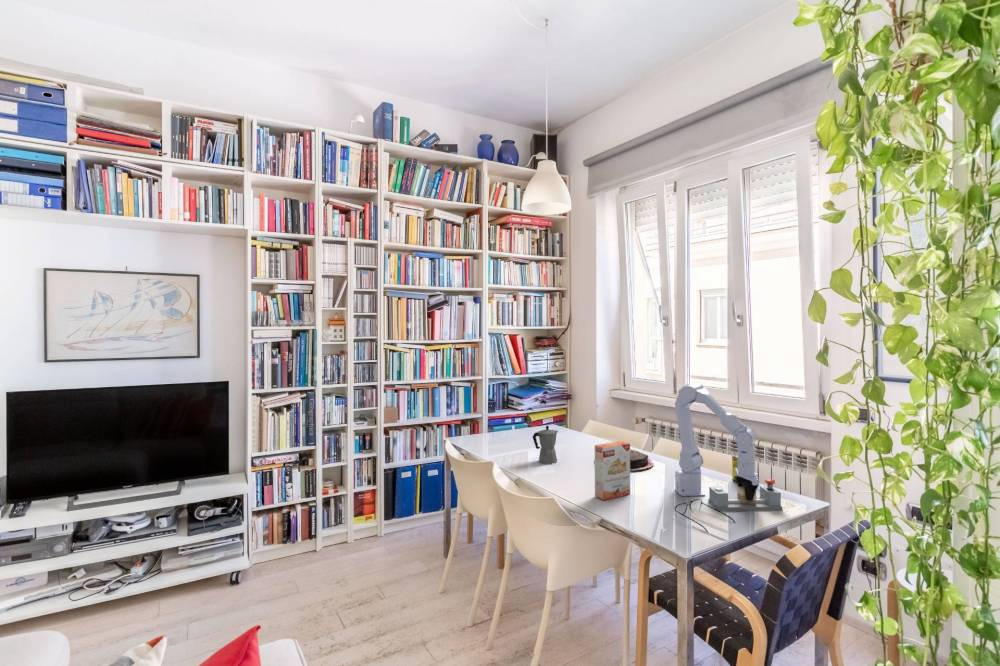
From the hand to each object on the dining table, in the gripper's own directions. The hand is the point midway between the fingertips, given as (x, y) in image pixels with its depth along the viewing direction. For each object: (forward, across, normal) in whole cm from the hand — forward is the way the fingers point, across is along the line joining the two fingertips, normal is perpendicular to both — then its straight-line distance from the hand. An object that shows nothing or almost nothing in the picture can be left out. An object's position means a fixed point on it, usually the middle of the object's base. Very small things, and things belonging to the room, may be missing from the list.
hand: (746, 497), depth 181 cm
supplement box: (+3, +26, -11) cm, 28 cm away
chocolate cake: (+4, +55, +33) cm, 64 cm away
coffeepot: (+3, +59, +71) cm, 92 cm away
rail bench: (+3, 0, +1) cm, 3 cm away
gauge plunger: (-3, 0, -9) cm, 9 cm away
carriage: (+1, 0, 0) cm, 1 cm away
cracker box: (+3, +12, +47) cm, 49 cm away
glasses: (+4, -12, +20) cm, 24 cm away
